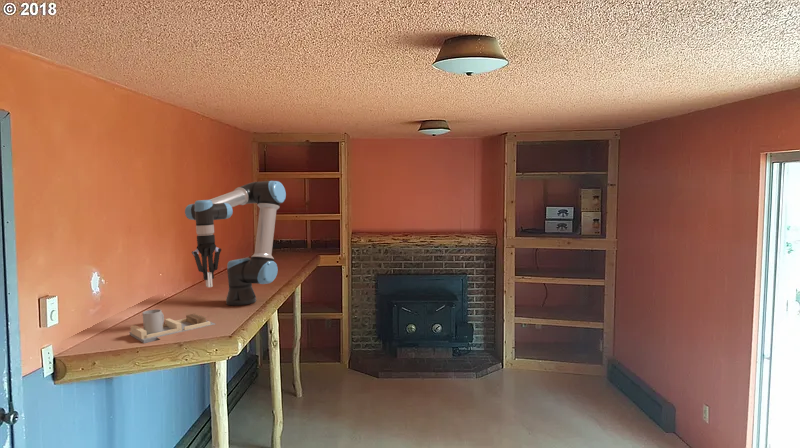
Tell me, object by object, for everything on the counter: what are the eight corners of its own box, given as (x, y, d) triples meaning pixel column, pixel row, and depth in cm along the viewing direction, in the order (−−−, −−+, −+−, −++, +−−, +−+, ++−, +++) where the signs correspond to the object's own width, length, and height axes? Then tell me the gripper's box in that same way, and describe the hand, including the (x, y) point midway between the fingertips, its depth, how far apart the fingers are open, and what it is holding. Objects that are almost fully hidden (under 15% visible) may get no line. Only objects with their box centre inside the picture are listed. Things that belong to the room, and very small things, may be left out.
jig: (199, 320, 243) (198, 311, 243) (216, 326, 230) (215, 317, 230) (129, 334, 223) (128, 325, 223) (143, 343, 210) (143, 332, 209)
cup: (140, 334, 218) (138, 313, 217) (156, 327, 228) (155, 307, 227) (155, 335, 216) (153, 313, 216) (171, 328, 226) (169, 308, 225)
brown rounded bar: (195, 319, 239) (194, 313, 239) (206, 324, 230) (206, 317, 230) (186, 321, 236) (186, 315, 236) (197, 326, 228) (197, 319, 227)
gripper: (216, 232, 242) (219, 283, 244) (187, 235, 233) (191, 288, 235) (223, 233, 237) (227, 285, 239) (194, 236, 228) (198, 290, 230)
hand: (209, 286), depth 237 cm, fingers closed
